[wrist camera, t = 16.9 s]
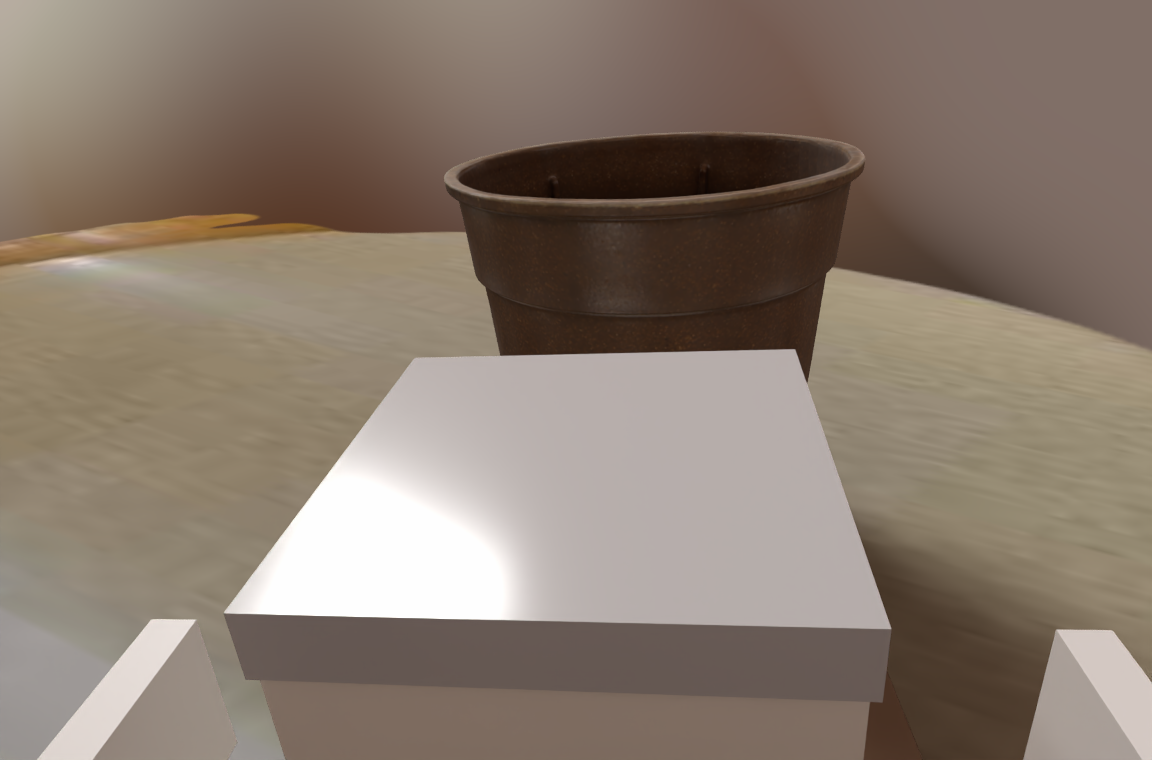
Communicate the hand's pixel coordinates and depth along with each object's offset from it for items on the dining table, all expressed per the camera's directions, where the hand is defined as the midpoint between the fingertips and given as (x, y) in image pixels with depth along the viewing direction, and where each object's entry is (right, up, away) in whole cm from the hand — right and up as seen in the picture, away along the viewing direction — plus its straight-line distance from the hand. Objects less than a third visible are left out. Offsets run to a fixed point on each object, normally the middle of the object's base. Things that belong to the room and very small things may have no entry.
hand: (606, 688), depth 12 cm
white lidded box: (0, -7, +4) cm, 8 cm away
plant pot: (+3, -1, +26) cm, 26 cm away
